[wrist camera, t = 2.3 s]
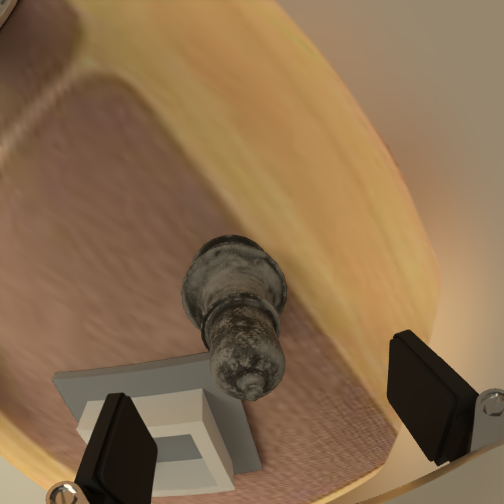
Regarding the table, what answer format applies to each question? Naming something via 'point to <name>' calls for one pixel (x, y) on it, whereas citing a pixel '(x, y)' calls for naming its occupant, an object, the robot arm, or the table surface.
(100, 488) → the robot arm
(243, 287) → the grey turned piece
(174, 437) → the socket
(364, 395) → the table surface
